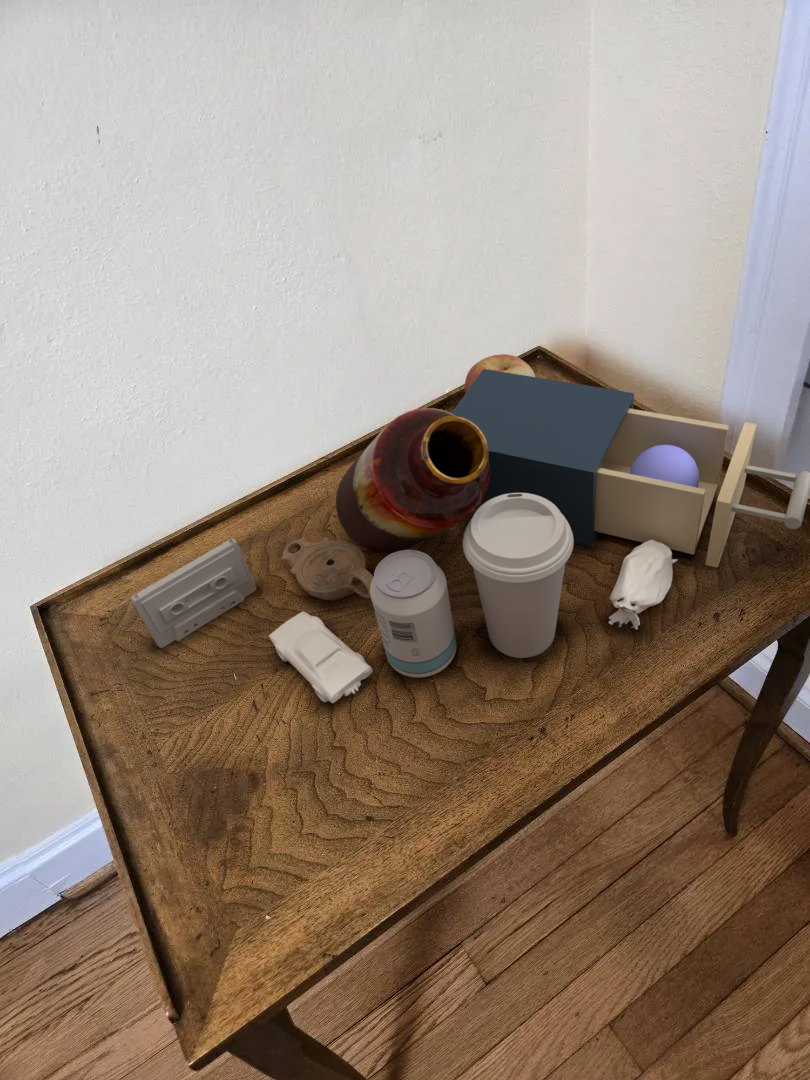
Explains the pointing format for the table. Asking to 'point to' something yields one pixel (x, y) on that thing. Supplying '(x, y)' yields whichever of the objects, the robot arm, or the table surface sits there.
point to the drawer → (678, 508)
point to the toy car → (320, 657)
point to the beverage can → (413, 613)
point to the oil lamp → (328, 568)
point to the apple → (498, 367)
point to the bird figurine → (642, 581)
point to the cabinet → (546, 439)
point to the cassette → (195, 593)
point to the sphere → (667, 465)
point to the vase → (414, 481)
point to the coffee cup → (519, 569)
